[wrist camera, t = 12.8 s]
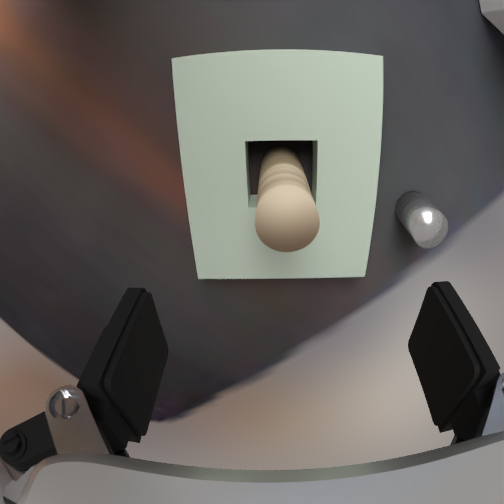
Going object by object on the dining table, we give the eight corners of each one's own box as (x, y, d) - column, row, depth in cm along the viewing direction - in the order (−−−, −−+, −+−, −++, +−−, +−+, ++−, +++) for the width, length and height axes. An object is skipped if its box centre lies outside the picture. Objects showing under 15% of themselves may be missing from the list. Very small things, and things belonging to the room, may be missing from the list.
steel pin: (397, 190, 28) (417, 211, 24) (428, 191, 28) (451, 212, 23) (392, 223, 30) (410, 248, 25) (422, 223, 29) (443, 248, 25)
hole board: (181, 60, 23) (171, 58, 20) (371, 57, 22) (382, 56, 19) (203, 262, 33) (198, 278, 30) (358, 260, 32) (364, 276, 29)
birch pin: (260, 146, 27) (253, 194, 16) (300, 145, 26) (321, 193, 16) (261, 183, 28) (256, 252, 18) (300, 183, 28) (318, 251, 18)
